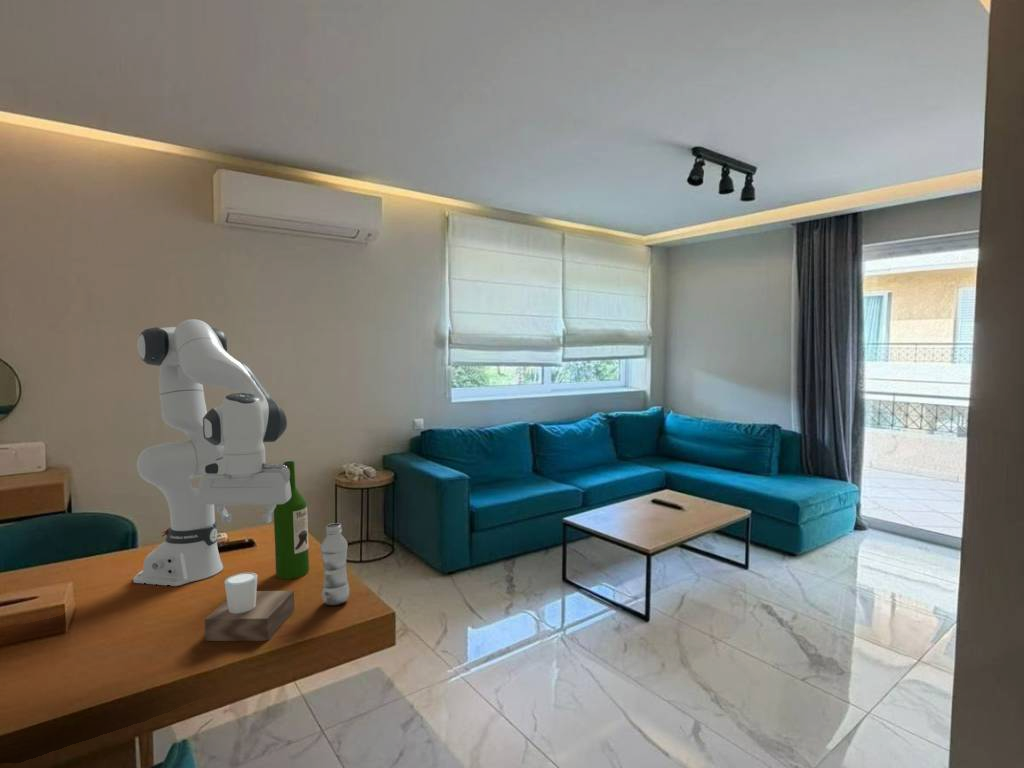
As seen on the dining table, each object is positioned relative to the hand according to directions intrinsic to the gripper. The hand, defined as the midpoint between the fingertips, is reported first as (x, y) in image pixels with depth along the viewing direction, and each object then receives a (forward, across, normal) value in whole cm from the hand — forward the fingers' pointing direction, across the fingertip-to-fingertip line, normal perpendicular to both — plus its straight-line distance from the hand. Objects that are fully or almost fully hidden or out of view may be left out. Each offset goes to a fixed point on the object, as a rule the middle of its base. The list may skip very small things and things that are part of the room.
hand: (246, 522), depth 125 cm
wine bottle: (+25, +2, -29) cm, 38 cm away
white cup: (+19, 0, +3) cm, 20 cm away
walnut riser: (+24, -1, +1) cm, 24 cm away
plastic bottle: (+24, -17, -10) cm, 31 cm away
